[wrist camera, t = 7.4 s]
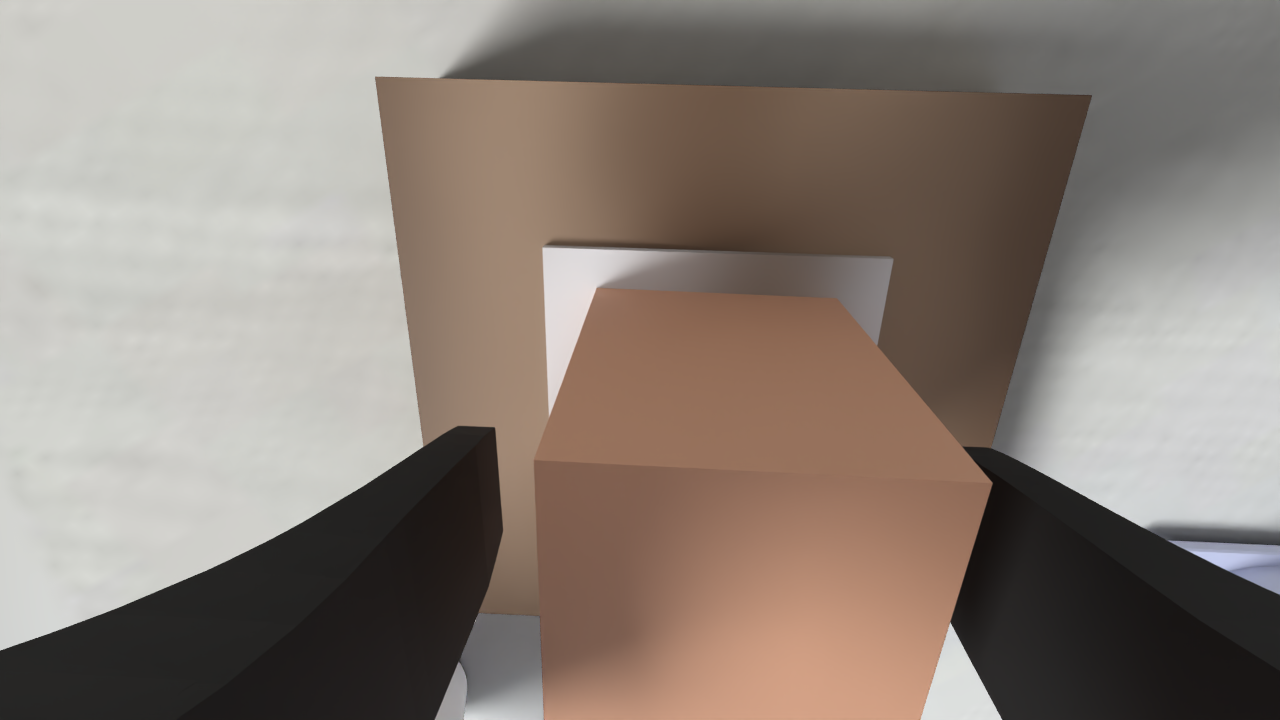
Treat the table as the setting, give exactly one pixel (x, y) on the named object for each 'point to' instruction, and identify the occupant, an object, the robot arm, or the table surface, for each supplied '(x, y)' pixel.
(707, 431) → the terracotta cube
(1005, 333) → the walnut pedestal
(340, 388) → the table surface
